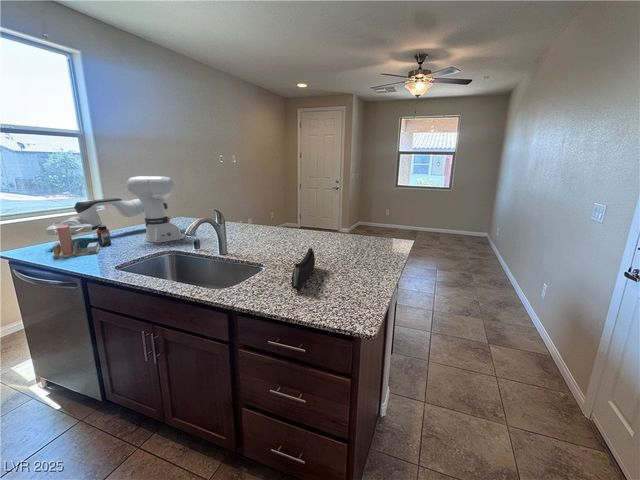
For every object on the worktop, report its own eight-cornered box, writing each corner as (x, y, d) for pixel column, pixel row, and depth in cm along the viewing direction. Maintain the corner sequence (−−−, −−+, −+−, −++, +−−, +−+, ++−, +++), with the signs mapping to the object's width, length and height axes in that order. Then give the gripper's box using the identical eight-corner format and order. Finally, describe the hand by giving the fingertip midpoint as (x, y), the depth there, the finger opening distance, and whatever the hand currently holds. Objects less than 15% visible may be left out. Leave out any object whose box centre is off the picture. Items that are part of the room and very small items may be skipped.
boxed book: (74, 250, 167) (69, 225, 164) (72, 253, 162) (66, 227, 158) (64, 251, 165) (59, 225, 162) (62, 254, 160) (56, 228, 157)
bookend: (89, 248, 171) (87, 239, 169) (87, 252, 164) (85, 243, 163) (77, 249, 168) (75, 240, 167) (75, 253, 162) (73, 244, 160)
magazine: (309, 247, 150) (293, 247, 121) (316, 248, 150) (301, 247, 120) (307, 283, 150) (290, 291, 120) (313, 283, 149) (298, 291, 120)
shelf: (99, 248, 175) (97, 238, 173) (97, 253, 166) (95, 242, 165) (57, 253, 166) (55, 242, 164) (53, 258, 158) (50, 246, 156)
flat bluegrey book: (98, 247, 174) (97, 242, 173) (96, 251, 167) (95, 246, 166) (90, 247, 172) (89, 243, 171) (88, 252, 165) (87, 246, 164)
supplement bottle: (97, 244, 183) (94, 225, 180) (109, 242, 187) (106, 224, 184) (100, 246, 179) (97, 227, 176) (112, 244, 183) (109, 225, 180)
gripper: (94, 230, 187) (92, 235, 176) (51, 234, 177) (45, 240, 166) (92, 220, 185) (90, 225, 174) (48, 223, 176) (42, 228, 164)
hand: (67, 232), depth 170 cm, fingers open, 8 cm apart
